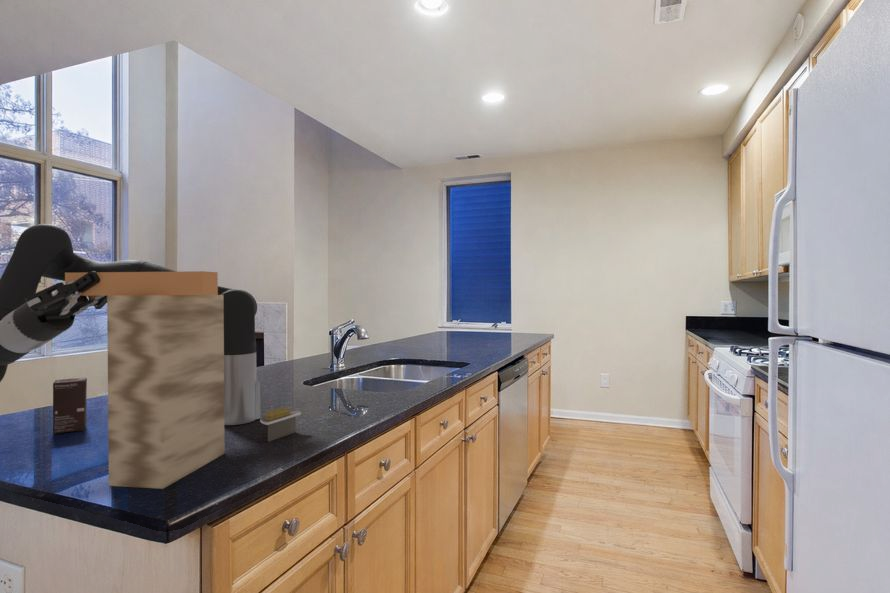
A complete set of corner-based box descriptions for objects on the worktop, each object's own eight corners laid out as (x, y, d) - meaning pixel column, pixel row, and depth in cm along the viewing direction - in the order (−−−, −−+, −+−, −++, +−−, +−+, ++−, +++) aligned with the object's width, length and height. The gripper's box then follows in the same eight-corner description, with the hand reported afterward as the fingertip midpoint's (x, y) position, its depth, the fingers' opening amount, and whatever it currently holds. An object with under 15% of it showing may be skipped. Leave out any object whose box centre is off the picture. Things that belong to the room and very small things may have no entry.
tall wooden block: (108, 485, 78) (107, 295, 78) (179, 451, 95) (177, 295, 95) (163, 488, 77) (161, 295, 76) (224, 453, 94) (223, 294, 93)
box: (52, 435, 106) (52, 382, 106) (55, 430, 110) (54, 379, 110) (85, 430, 110) (85, 379, 110) (87, 426, 113) (87, 377, 113)
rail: (65, 295, 81) (65, 272, 81) (85, 295, 85) (85, 273, 85) (203, 295, 78) (202, 271, 78) (217, 295, 82) (217, 272, 82)
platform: (226, 445, 100) (226, 415, 100) (290, 424, 116) (290, 398, 116) (265, 454, 94) (265, 422, 94) (327, 431, 110) (327, 403, 110)
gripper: (-19, 307, 77) (60, 254, 75) (62, 305, 91) (130, 260, 89) (1, 346, 77) (81, 294, 75) (79, 338, 91) (148, 294, 89)
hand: (107, 276), depth 82 cm, fingers closed on rail, 4 cm apart
